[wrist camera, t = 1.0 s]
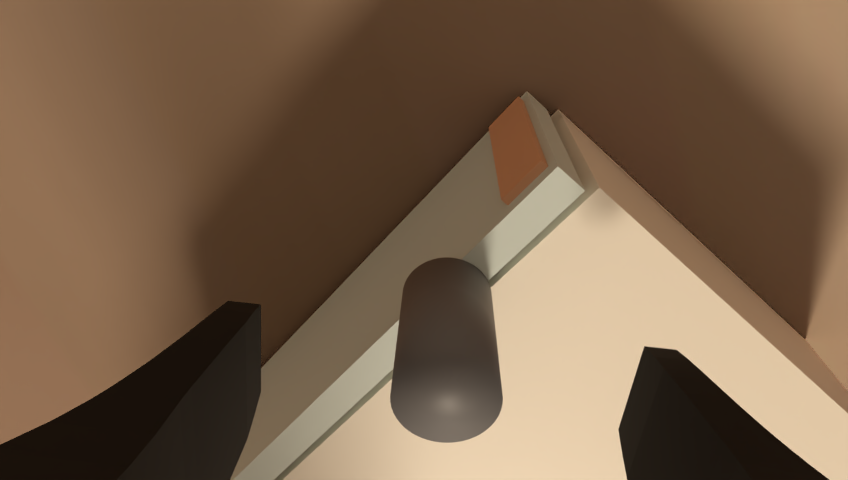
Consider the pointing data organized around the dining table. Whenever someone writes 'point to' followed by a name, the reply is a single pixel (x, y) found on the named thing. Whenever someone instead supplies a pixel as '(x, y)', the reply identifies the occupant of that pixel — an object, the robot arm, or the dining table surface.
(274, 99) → the dining table surface
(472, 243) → the flap
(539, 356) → the carton
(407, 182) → the dining table surface
